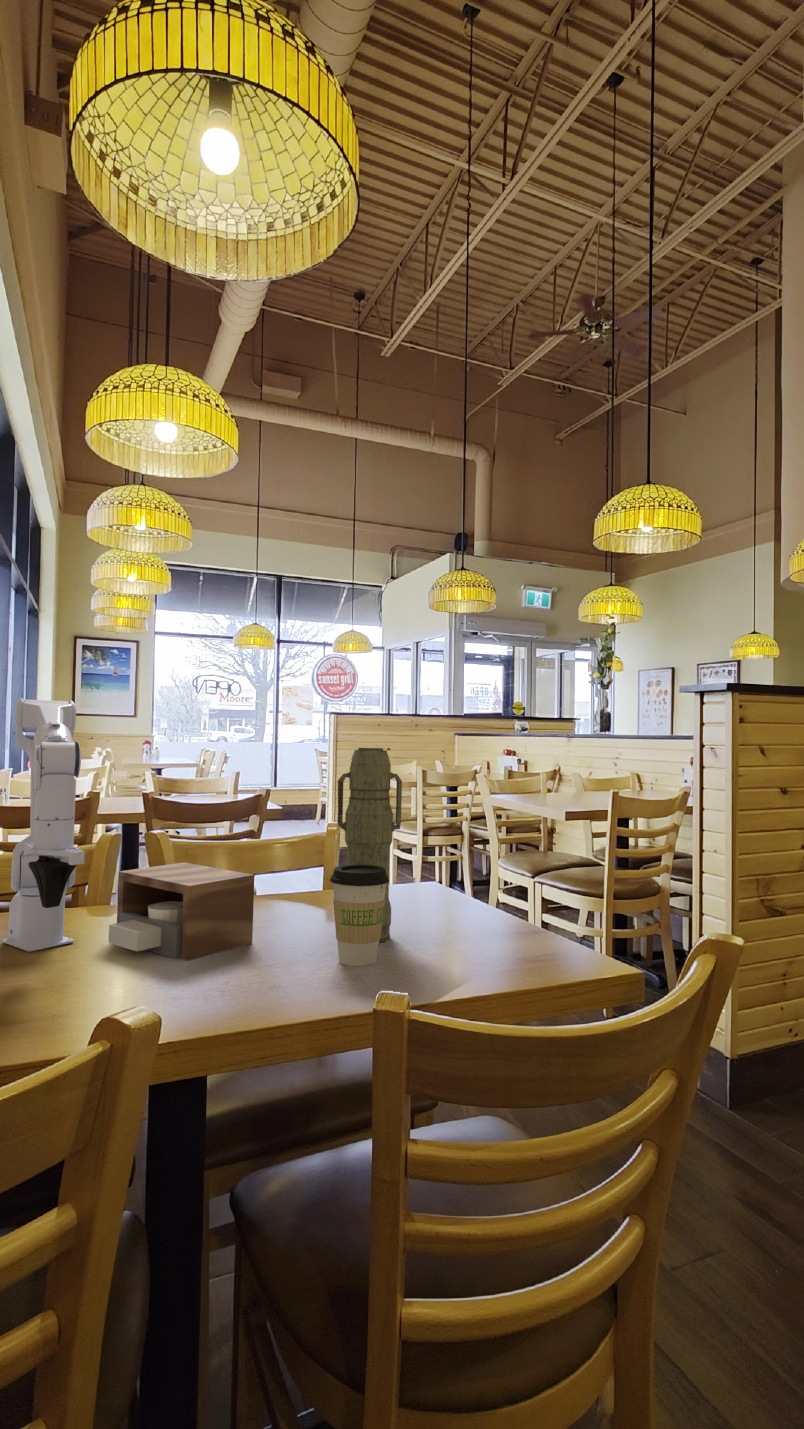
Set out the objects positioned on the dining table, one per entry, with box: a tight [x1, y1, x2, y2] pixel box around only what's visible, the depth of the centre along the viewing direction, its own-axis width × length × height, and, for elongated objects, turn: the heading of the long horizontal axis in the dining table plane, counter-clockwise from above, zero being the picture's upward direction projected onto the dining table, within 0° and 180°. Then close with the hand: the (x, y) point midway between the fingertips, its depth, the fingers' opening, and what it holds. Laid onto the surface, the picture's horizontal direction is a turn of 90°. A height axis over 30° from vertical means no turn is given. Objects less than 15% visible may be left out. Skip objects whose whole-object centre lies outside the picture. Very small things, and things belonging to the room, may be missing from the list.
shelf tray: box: [108, 911, 182, 959], centre depth 126 cm, size 16×18×5 cm
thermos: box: [336, 747, 403, 944], centre depth 135 cm, size 9×12×35 cm
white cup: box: [148, 901, 183, 925], centre depth 126 cm, size 7×7×7 cm
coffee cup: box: [329, 864, 390, 967], centre depth 120 cm, size 10×10×15 cm
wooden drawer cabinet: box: [116, 862, 255, 961], centre depth 129 cm, size 20×14×12 cm
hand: (50, 906), depth 113 cm, fingers closed
